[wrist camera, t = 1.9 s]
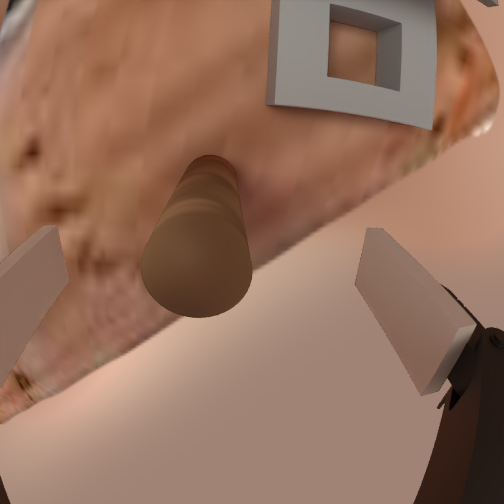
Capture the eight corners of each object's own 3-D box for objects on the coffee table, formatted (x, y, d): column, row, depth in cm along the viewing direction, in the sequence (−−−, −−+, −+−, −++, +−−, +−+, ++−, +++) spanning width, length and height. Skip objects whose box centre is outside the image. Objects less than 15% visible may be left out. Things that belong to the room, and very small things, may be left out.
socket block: (265, 104, 21) (302, 103, 11) (274, -65, 14) (305, -140, 4) (404, 124, 22) (497, 148, 12) (406, -31, 15) (482, -65, 5)
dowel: (184, 205, 24) (148, 316, 11) (183, 155, 22) (134, 220, 10) (234, 205, 24) (249, 317, 12) (236, 155, 23) (255, 220, 10)
